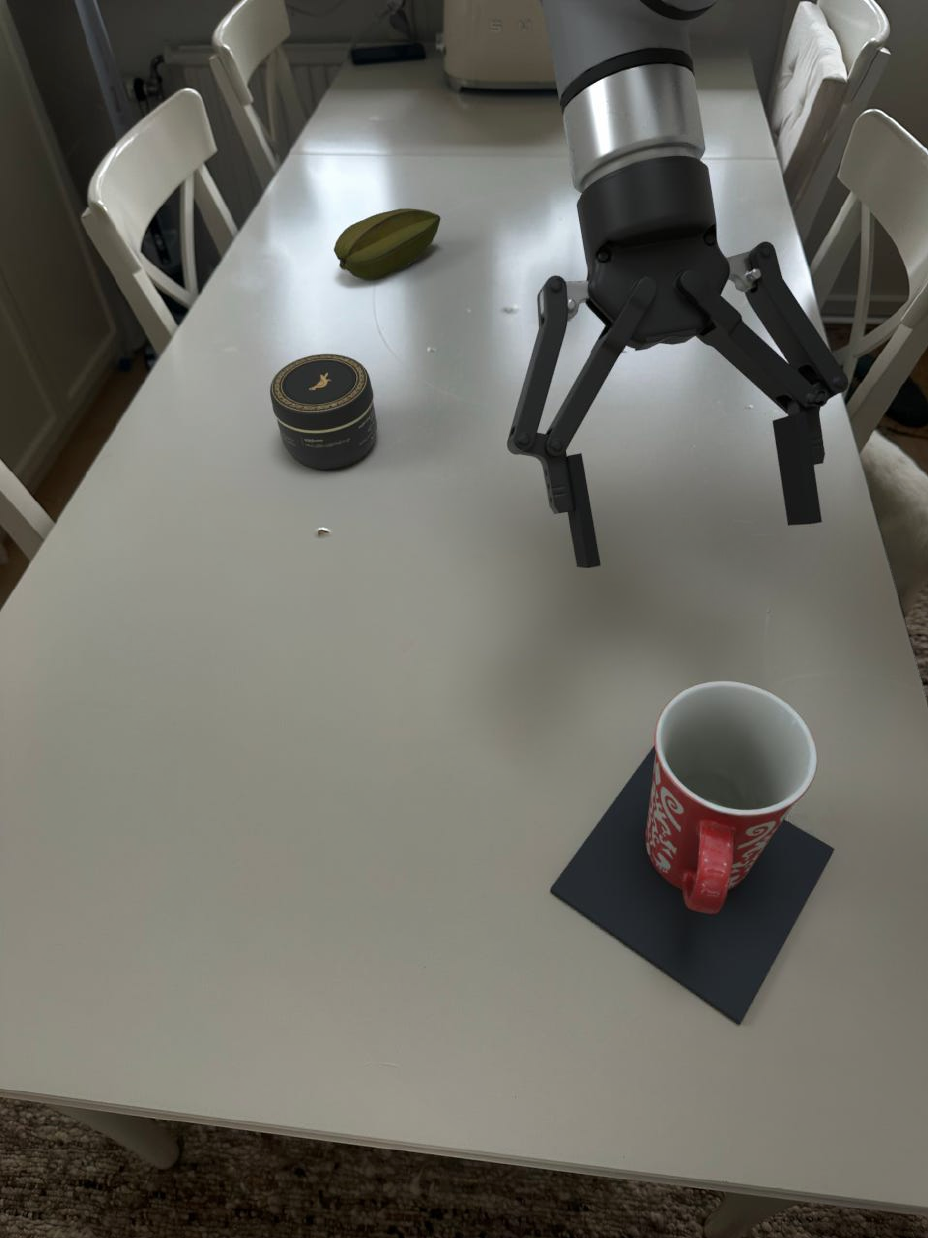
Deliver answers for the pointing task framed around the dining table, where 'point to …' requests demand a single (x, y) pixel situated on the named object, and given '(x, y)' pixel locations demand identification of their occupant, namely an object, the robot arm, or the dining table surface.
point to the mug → (723, 785)
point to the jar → (325, 410)
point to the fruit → (386, 242)
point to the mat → (660, 920)
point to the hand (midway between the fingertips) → (698, 545)
